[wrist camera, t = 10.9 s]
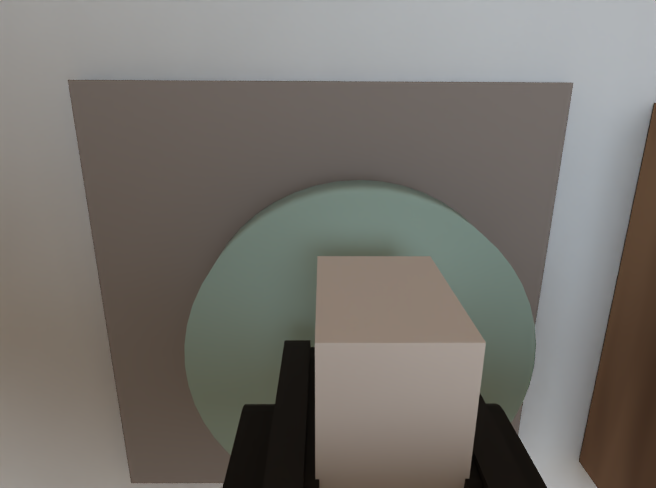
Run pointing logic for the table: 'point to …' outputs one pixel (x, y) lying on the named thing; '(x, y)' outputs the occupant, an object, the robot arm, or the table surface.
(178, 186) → the mat
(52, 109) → the table surface
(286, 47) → the table surface
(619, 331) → the tray
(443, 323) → the cover
